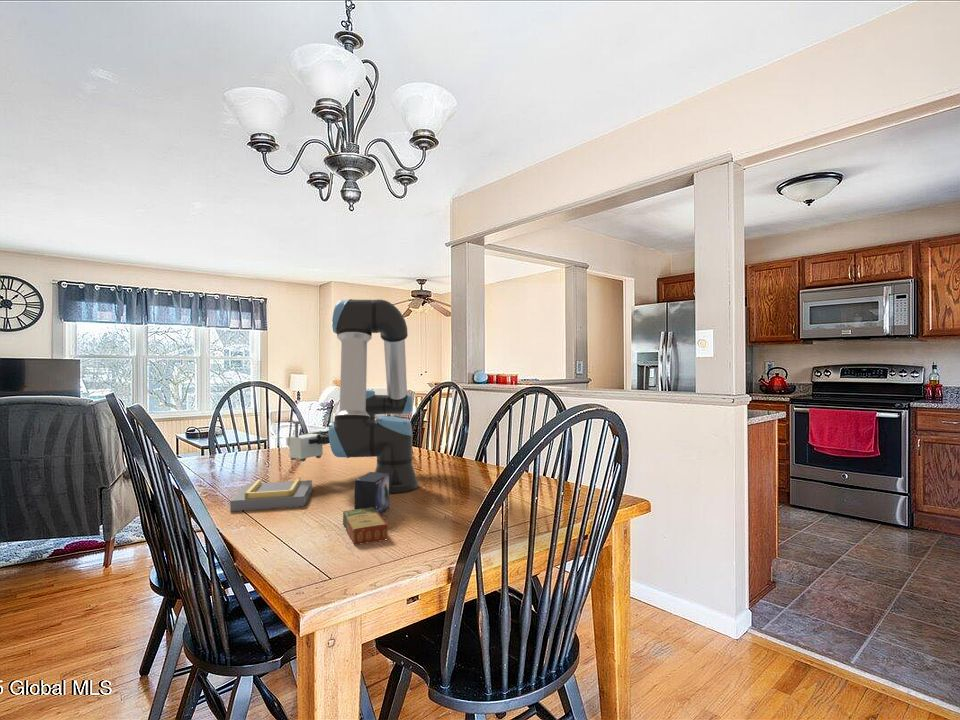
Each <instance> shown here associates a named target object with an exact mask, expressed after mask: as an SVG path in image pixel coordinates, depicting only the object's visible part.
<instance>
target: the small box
mask: <svg viewBox="0 0 960 720" xmlns="http://www.w3.org/2000/svg"><path fill="white" fill-rule="evenodd" d="M353 495H354V509H353V510H355V509H362V508H370V507H374V508H375V510H376V511H377V512H378V513H379V515H380V516H382V513H383V512H384V513H385V512H386V510H387V509H388V510H390V493H389V473H377V472H375V471H374V472H373V471H369V472H368V473H366V474H364V475H362V476H360V477H358V478H356V479H354V494H353ZM388 510H387V511H388ZM384 513H383V514H384Z"/></svg>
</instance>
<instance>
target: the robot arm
mask: <svg viewBox="0 0 960 720" xmlns="http://www.w3.org/2000/svg"><path fill="white" fill-rule="evenodd" d="M332 313H333V314H332V319H331V321H332V332H333V333H334V334H336V336H337V337H336V338H337V339H338V340H339V341H340V342H341V346H340V347H341V348H340V351H341V352H340V376H339V377H340V380H339V381H340V384H339V411H338V412H337V413H336V414H335V415H334V421H331V422H330V423H328V430H326V431H323V430H319V431H315V432H314V431H313V432H307V433H306V432H305V433H299V435H305V434H320V435H317V438H316V436H314V437H307V438H301V439H299V447H304V446H310V445H315V444H316V443H317V444H322V445H327V444H329V445H330V451H331V453H332V454H333V456H334V457H336V458H346V459H350V458H372V457H373V458H374V457H375V458H376V467H375V471H374V472H377V473H389V494H401V493H407V492H410V491H413V490H416V489H417V488H418V487H419V483H418V482H419V480H418V477H417V475H416V472H415V468H414V465H413V429H412V428H413V427H412V423H411V421H410V420H408V419H406V418H403V417H397V416H386V415H405V414H406V415H407V414H411V413H412V412H413V396H412V394H408V386H407V383H408V382H407V361H406V360H407V359H406V358H407V355H406V339H407V338H408V335H409V334H408V333H409V332H408V325H407V323H406V320H405V318H404V316H403V314H402V312H401V311H400V309H398V308H397V307H396V306H395V305H394V304H393V303H391V302H389V301H388V300H384V299H378V298H377V299H352V298H349V299H340V300H338V301H337V302H336V303H335V305H334V308H333V312H332ZM372 334H379V335H380V339H381V340H382V341H383V348H384V363H385V366H384V367H385V380H386V392H387V394H376V392H375V390H374V389H373V390H372V389H371V390H370V389H367V373H368V372H367V369H368V368H367V367H368V366H367V365H368V363H367V362H368V361H367V360H368V342H370V341H371V340H372V338H373V337H372ZM376 415H385V416H377V417H376ZM321 435H322V436H321ZM289 437H290V436H286V437H285V438H286V440H285V441H286V443H285V444H286V446H289Z"/></svg>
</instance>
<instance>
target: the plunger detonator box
mask: <svg viewBox="0 0 960 720" xmlns="http://www.w3.org/2000/svg"><path fill="white" fill-rule="evenodd" d="M291 423H292V424H294V435H293V436H288V437H289V445H288V446H289V447H288V449H289V458H290V459H291V460H292V461H296V460H297V459H298V460H299V461H300V462H306V460H307V458H308V459H309V458H313V457H315V458H316V459H321V458H322V456H323V444H317V443H316V444H315V445H310V446H304V447H299V439H301V438H307V437H314V436H316V438H317V435H320V434H306V433H304V434H305V435H300V434H299V425H301V424H302V422H301V421H300V420H292V422H291ZM321 436H322V435H321Z"/></svg>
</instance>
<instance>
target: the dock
mask: <svg viewBox="0 0 960 720" xmlns="http://www.w3.org/2000/svg"><path fill="white" fill-rule="evenodd" d="M312 491H313V480H312V479H311V480H310V479H309V480H301V477H296V479H294V481H293V480H291V481H275V482H273V481H272V482H262V479H261V478H260V479H257V480H256V481H255V482H254V483H253V482H252V483H246V484H245V486H244V487H243V488H242V489H241V490H240V491H239V492H238V493H236V495H235V496H233V497H232V499H230V501H229V503H230V504H229V505H230V508H229V510H230V511H229V512H243V511H242V510H244V511H255V510H256V511H257V509H259V510H272V509H271V508H275V509H285V507H290V508H300V507H299V506H304V505H306V504H307V502H308V499H309V497H310V496H311V493H312ZM306 501H307V502H306ZM305 503H306V504H305ZM304 507H305V506H304Z"/></svg>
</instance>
